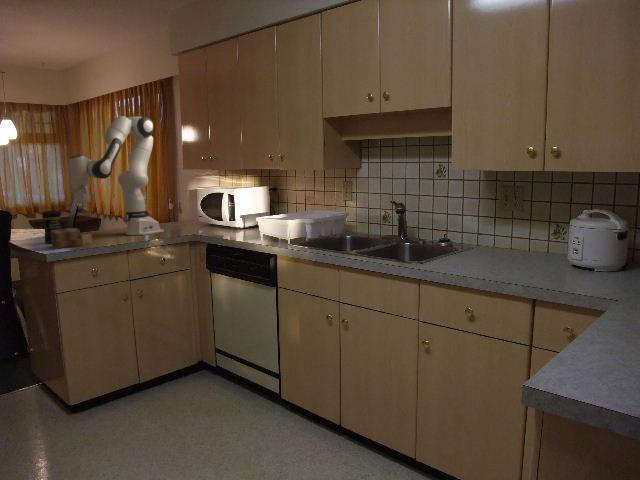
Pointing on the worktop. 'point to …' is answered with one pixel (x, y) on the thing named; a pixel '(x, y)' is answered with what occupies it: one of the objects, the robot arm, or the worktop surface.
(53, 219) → the coffee jar
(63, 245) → the tip box
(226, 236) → the worktop surface
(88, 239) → the token
